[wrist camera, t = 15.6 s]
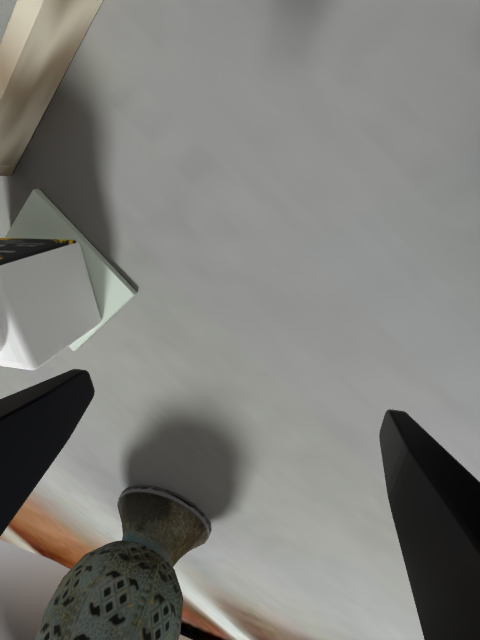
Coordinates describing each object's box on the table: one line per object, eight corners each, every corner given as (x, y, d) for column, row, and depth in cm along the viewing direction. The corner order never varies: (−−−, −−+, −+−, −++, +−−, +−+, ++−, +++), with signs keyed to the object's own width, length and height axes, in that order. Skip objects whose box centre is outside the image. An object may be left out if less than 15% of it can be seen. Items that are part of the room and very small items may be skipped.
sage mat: (38, 188, 20) (33, 189, 20) (137, 292, 23) (134, 294, 22) (-9, 268, 25) (-15, 270, 24) (77, 348, 27) (73, 351, 27)
